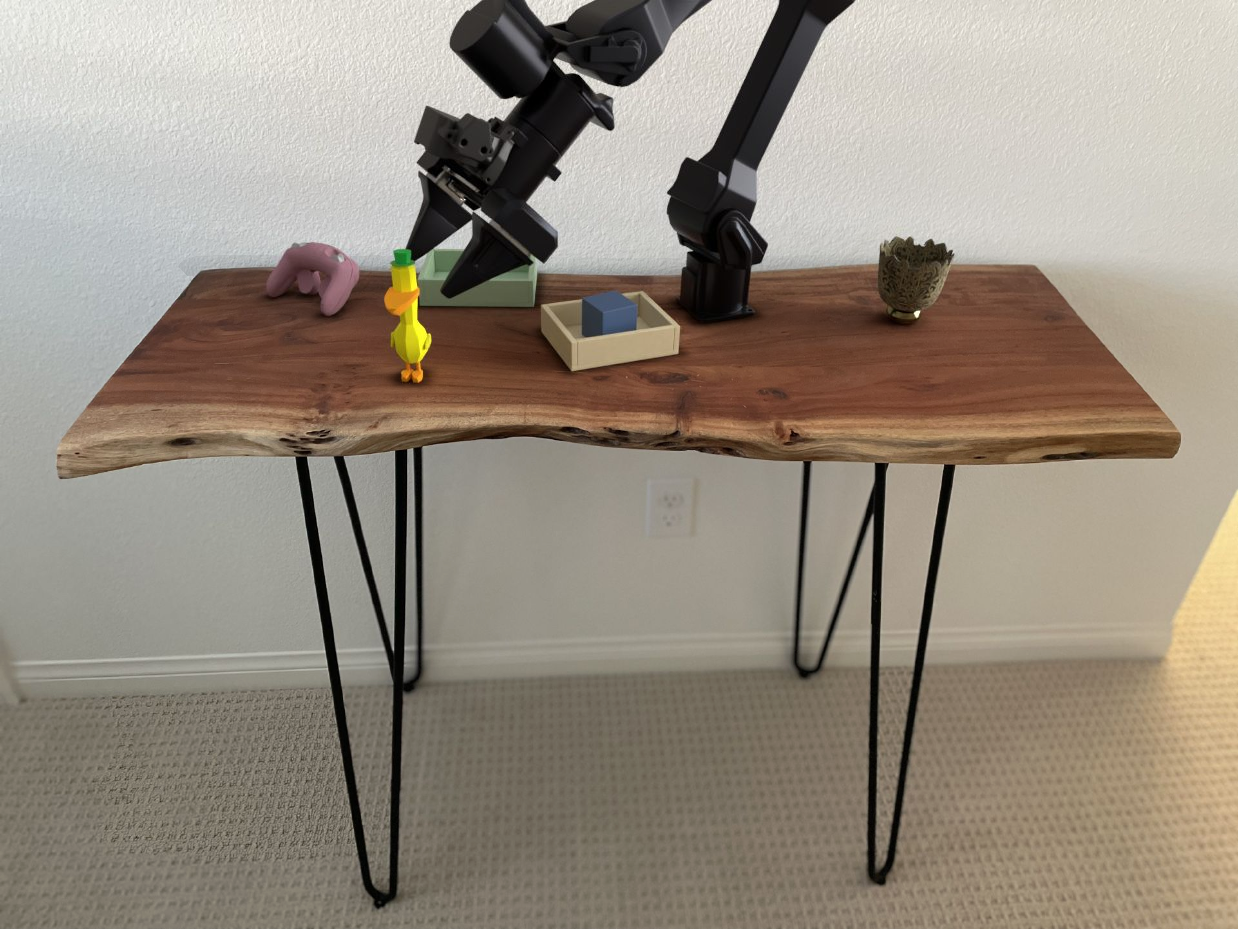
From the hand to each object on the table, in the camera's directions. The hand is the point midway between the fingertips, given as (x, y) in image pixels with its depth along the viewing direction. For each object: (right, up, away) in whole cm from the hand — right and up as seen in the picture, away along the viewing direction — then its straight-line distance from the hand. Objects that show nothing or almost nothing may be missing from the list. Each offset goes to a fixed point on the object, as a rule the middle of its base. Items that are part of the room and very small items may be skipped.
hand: (424, 276), depth 82 cm
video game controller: (-16, +1, +19) cm, 24 cm away
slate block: (+16, -4, +11) cm, 20 cm away
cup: (+48, -1, +18) cm, 51 cm away
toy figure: (-2, -9, +4) cm, 10 cm away
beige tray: (+16, -4, +12) cm, 20 cm away
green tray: (+2, +3, +22) cm, 22 cm away
